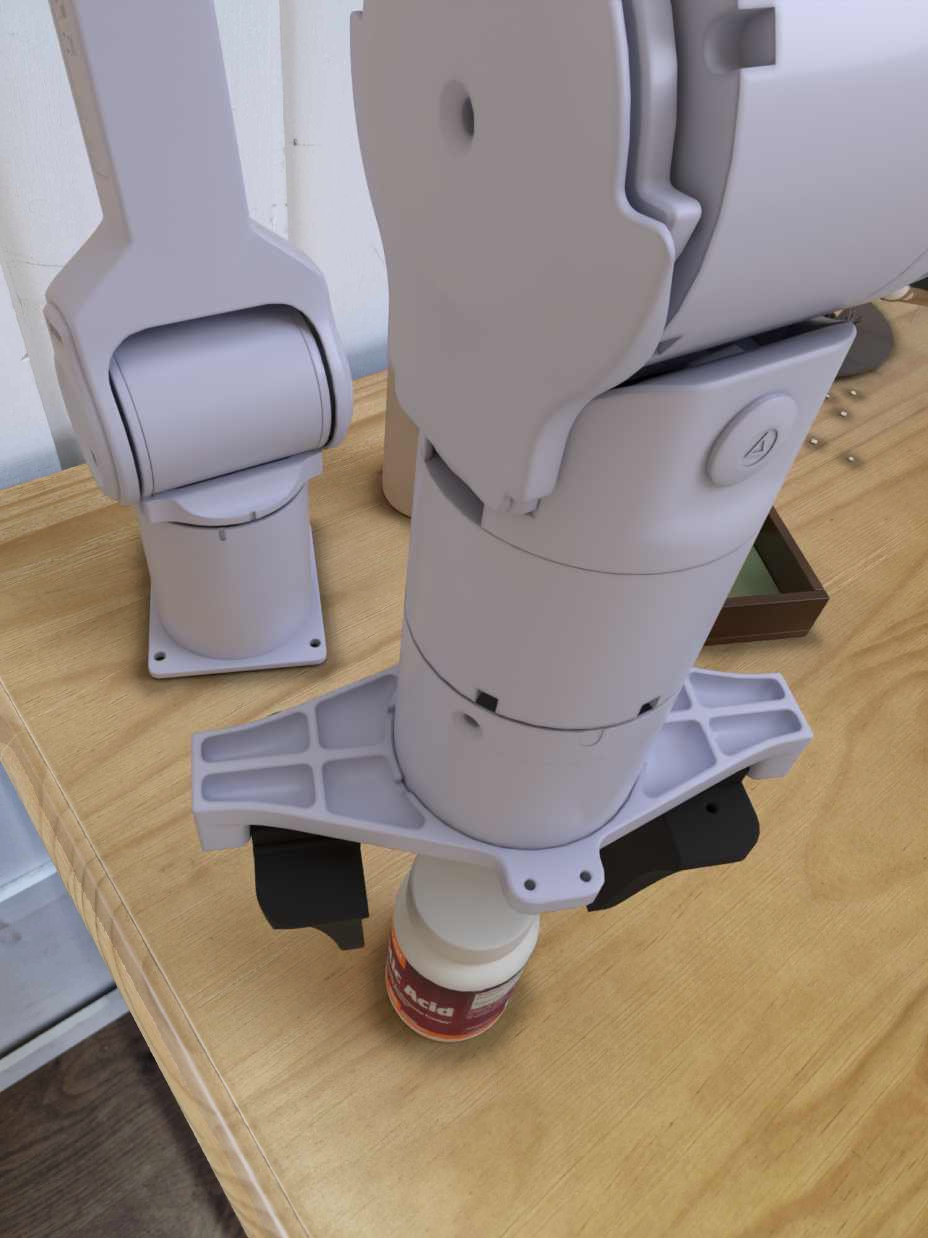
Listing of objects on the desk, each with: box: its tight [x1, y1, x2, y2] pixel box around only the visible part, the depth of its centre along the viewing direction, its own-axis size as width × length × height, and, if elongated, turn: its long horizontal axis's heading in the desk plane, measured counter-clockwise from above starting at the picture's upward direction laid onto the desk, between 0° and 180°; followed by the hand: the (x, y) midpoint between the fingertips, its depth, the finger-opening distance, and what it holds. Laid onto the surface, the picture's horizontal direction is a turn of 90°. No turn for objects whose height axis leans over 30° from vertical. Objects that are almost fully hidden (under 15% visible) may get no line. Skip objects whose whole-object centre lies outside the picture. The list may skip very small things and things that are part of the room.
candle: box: [381, 360, 419, 518], centre depth 47 cm, size 6×6×10 cm
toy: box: [822, 276, 928, 378], centre depth 62 cm, size 18×20×15 cm
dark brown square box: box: [703, 504, 831, 647], centre depth 47 cm, size 8×8×3 cm
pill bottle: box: [384, 854, 541, 1043], centre depth 30 cm, size 5×5×8 cm
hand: (471, 898), depth 27 cm, fingers open, 7 cm apart
